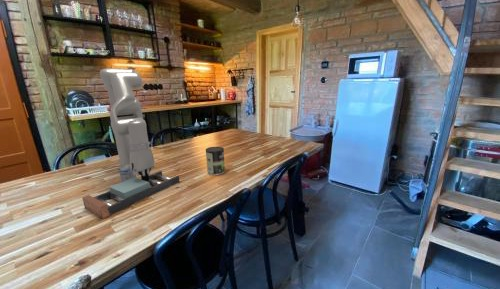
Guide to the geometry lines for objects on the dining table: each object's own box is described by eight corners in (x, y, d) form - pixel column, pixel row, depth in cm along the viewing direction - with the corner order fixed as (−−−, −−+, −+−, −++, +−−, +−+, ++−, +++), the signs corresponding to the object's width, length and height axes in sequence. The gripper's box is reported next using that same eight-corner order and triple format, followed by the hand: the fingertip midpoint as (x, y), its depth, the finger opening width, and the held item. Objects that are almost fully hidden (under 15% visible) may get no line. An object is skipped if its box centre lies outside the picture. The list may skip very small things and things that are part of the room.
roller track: (84, 207, 93) (82, 197, 92) (161, 176, 124) (160, 167, 123) (103, 218, 86) (100, 207, 84) (179, 181, 117) (178, 172, 115)
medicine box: (128, 180, 120) (125, 165, 118) (137, 179, 121) (134, 164, 118) (121, 186, 113) (118, 170, 110) (130, 185, 113) (127, 170, 111)
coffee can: (227, 169, 133) (226, 146, 129) (221, 175, 123) (220, 151, 119) (211, 168, 135) (209, 146, 131) (204, 174, 125) (202, 151, 121)
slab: (110, 192, 100) (109, 186, 99) (135, 182, 110) (134, 177, 109) (125, 199, 94) (124, 193, 93) (150, 188, 104) (149, 182, 103)
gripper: (149, 141, 111) (154, 175, 116) (119, 149, 99) (126, 186, 104) (159, 143, 108) (163, 178, 112) (129, 151, 95) (136, 190, 100)
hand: (146, 182), depth 108 cm, fingers closed
